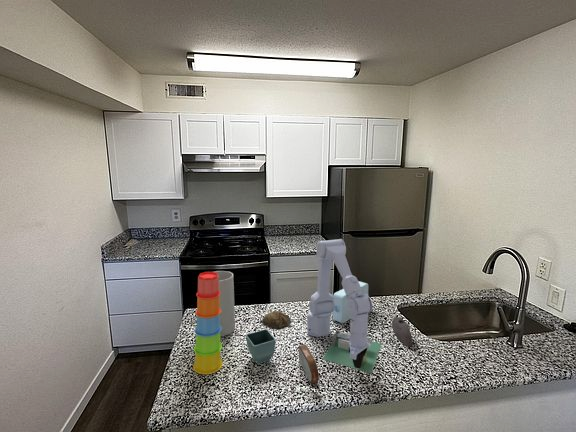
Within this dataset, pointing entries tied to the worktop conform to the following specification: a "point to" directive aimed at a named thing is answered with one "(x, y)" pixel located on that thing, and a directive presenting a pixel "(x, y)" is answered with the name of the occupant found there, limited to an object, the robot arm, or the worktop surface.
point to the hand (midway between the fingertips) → (357, 366)
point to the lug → (364, 359)
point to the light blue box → (344, 304)
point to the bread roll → (276, 319)
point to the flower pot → (261, 345)
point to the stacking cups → (208, 325)
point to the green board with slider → (342, 356)
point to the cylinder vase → (226, 302)
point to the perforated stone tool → (402, 331)
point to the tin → (308, 364)
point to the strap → (347, 337)
